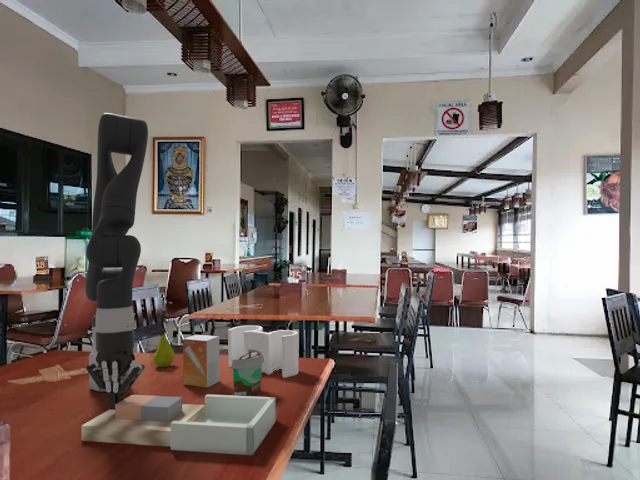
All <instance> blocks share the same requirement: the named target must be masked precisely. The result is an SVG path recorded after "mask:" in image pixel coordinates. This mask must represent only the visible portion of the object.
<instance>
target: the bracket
mask: <svg viewBox="0 0 640 480" xmlns="http://www.w3.org/2000/svg"><path fill="white" fill-rule="evenodd" d="M298 333H299V332H298V331H296V330H287V329H285V330H274V331H270V332H266V331H264V328H263V327H262V326H260V325H239V326H235V327H234V326H233V327H231V328H229V329H227V343H228V344H227V350H228V358H227V359H228V368H232V360H238V359H239V358H240V357H241V356H244V355H246V354H248V349H251V350H258V351H261V352H262V354H263V357H264V363H262V371H261V373H263V372H265V373H264V374H266V375H272V374H273V373H274V372H276V371H280V370H279V369H282V370H281V376H282V378H283V379H284V378H288V377H293V376H296V375H298V374H299V335H298ZM275 370H276V371H275ZM273 371H274V372H273ZM271 373H272V374H271Z"/></svg>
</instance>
